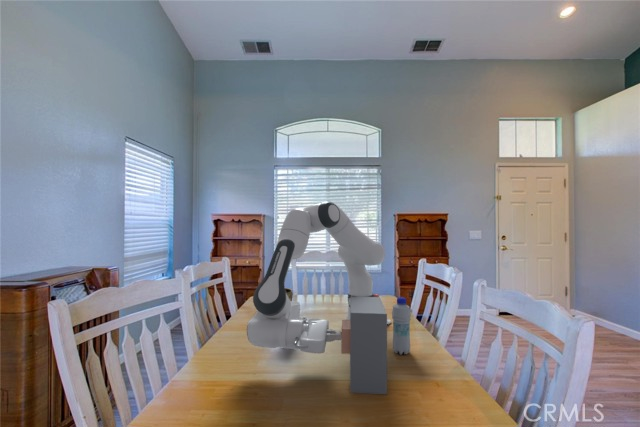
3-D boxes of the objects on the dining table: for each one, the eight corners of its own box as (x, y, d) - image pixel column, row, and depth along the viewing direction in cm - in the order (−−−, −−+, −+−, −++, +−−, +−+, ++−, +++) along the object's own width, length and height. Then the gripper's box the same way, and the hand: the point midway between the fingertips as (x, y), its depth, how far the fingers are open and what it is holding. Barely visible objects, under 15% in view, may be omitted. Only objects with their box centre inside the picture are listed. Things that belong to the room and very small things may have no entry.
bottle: (411, 350, 117) (411, 296, 118) (410, 357, 111) (410, 300, 112) (392, 347, 119) (393, 294, 120) (390, 354, 113) (391, 298, 114)
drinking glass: (297, 345, 121) (297, 305, 122) (280, 343, 123) (280, 304, 123) (301, 338, 128) (301, 301, 128) (285, 337, 129) (286, 300, 130)
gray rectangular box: (350, 392, 88) (350, 312, 88) (350, 361, 107) (350, 296, 108) (386, 394, 87) (386, 313, 87) (379, 362, 107) (379, 297, 107)
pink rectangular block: (341, 353, 93) (341, 328, 94) (342, 341, 103) (342, 319, 103) (358, 354, 93) (358, 329, 93) (357, 342, 102) (357, 320, 102)
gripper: (292, 335, 89) (340, 337, 88) (302, 314, 110) (342, 316, 108) (291, 358, 89) (340, 360, 88) (302, 333, 109) (342, 334, 108)
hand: (341, 335), depth 98 cm, fingers closed, pressing on pink rectangular block
